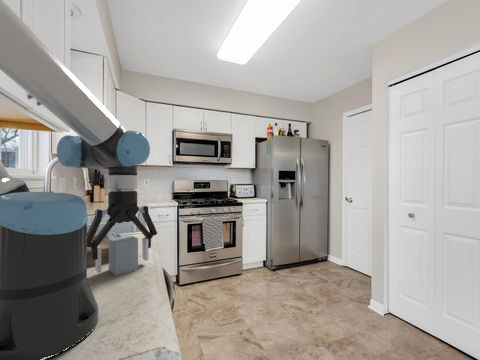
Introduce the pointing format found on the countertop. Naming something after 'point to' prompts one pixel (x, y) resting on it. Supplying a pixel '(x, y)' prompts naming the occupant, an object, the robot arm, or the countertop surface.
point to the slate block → (123, 254)
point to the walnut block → (104, 253)
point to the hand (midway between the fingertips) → (123, 264)
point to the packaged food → (108, 235)
